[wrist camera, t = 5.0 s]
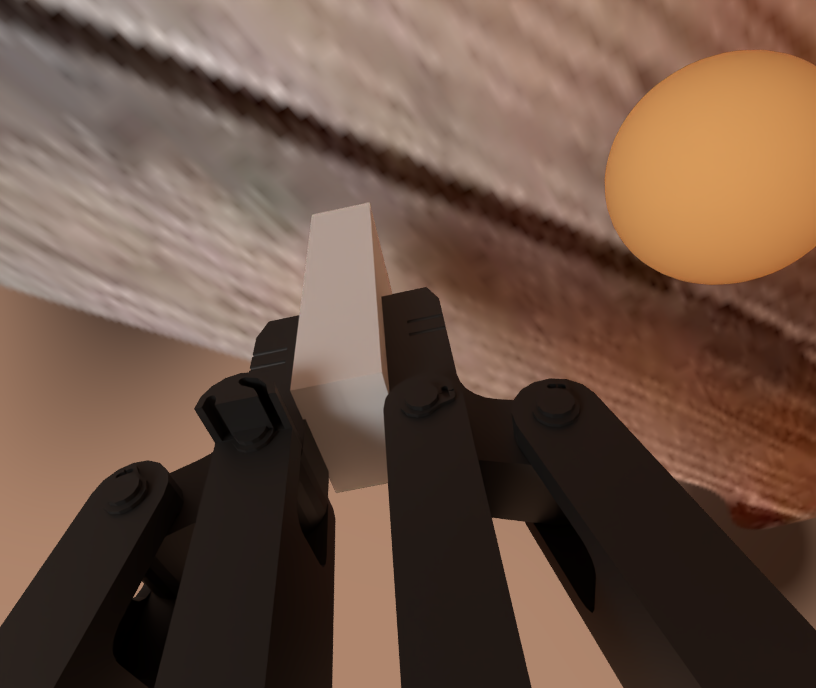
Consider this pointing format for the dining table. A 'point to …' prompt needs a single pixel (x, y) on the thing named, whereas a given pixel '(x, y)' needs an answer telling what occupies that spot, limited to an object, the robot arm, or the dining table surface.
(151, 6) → the dining table surface
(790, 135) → the ball
